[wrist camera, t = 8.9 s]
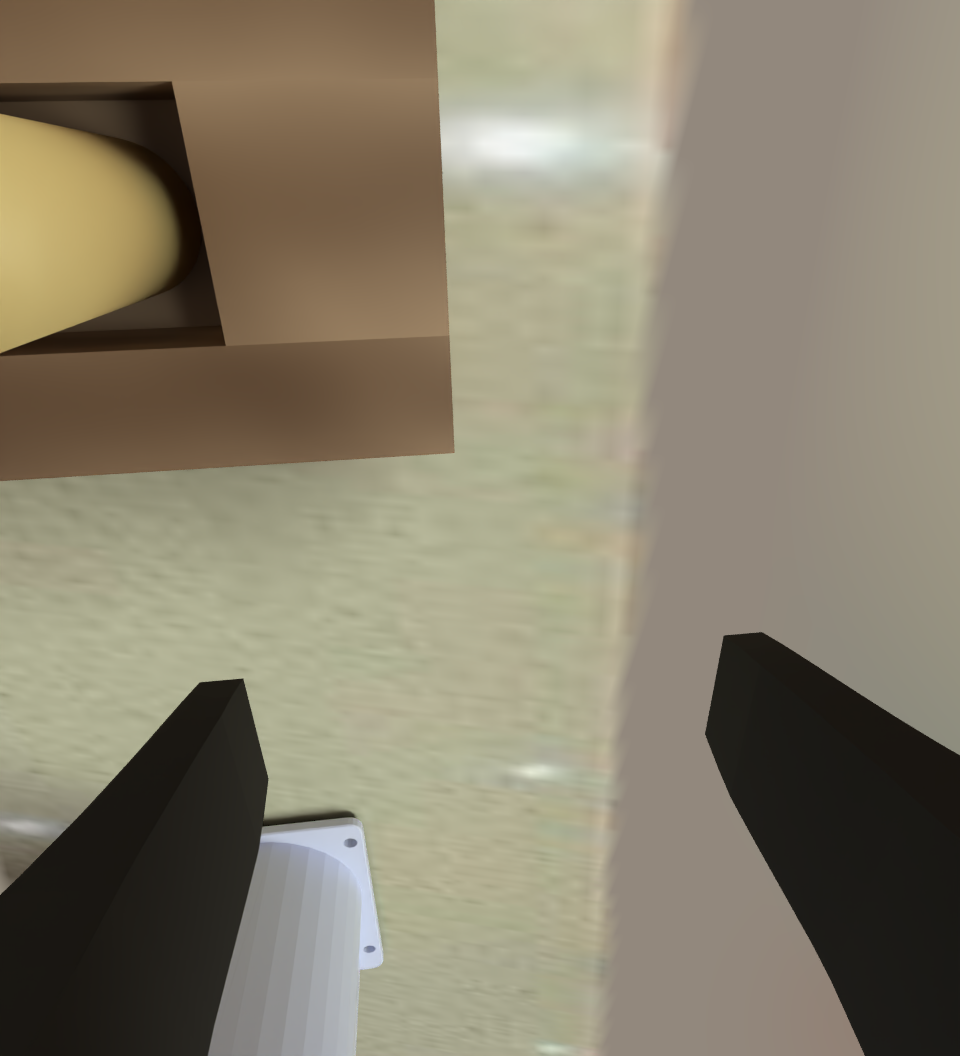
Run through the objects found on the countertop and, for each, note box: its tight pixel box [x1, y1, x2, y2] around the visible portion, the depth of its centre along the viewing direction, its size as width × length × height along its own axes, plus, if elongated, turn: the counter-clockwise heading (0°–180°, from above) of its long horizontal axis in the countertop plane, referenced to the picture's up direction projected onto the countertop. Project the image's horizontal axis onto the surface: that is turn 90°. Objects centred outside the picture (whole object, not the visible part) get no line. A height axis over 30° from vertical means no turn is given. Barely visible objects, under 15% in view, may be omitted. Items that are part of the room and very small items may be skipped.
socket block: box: [0, 0, 454, 481], centre depth 14 cm, size 10×14×3 cm
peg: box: [0, 114, 201, 353], centre depth 11 cm, size 3×3×7 cm
